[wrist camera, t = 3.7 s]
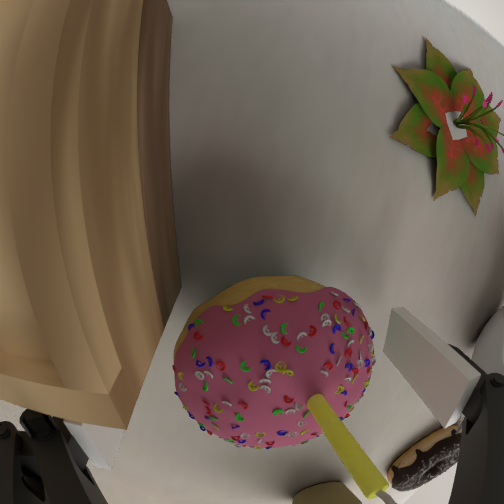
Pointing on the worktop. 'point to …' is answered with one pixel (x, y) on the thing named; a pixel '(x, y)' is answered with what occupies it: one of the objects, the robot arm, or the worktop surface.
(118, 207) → the tower top
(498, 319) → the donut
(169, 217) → the tower base
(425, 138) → the lily flower
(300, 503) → the squeeze bottle
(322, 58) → the worktop surface
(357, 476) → the cupcake
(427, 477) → the donut
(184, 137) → the worktop surface
